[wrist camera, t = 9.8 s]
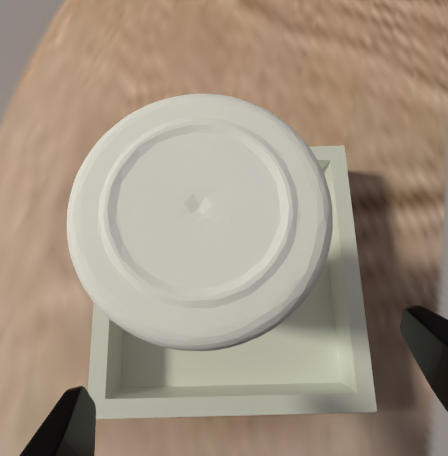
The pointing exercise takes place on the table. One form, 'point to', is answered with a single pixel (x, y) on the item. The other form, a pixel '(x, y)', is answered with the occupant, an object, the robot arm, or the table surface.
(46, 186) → the table surface
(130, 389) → the tray
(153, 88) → the table surface
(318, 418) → the table surface
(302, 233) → the sprinkles bottle
